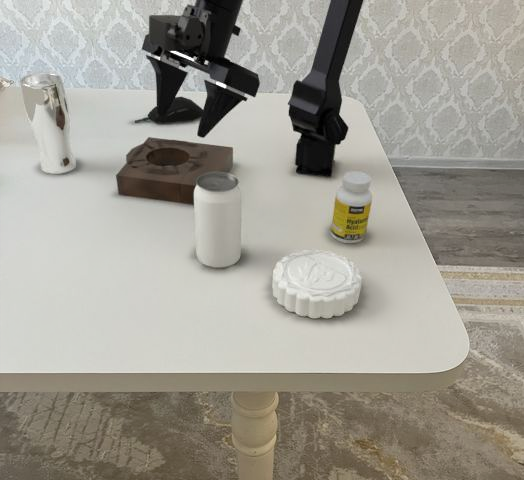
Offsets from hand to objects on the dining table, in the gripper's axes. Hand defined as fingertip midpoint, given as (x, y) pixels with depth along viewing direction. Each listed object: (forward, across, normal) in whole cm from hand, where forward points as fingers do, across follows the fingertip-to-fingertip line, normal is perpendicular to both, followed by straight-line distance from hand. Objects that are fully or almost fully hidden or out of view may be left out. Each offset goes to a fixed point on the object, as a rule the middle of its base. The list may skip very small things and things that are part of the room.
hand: (179, 126), depth 83 cm
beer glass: (+16, -30, +2) cm, 34 cm away
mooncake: (+13, +26, +9) cm, 30 cm away
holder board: (+10, -12, +14) cm, 21 cm away
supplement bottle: (+6, +19, +22) cm, 30 cm away
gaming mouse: (+3, -36, +28) cm, 46 cm away
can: (+15, +11, +5) cm, 19 cm away
